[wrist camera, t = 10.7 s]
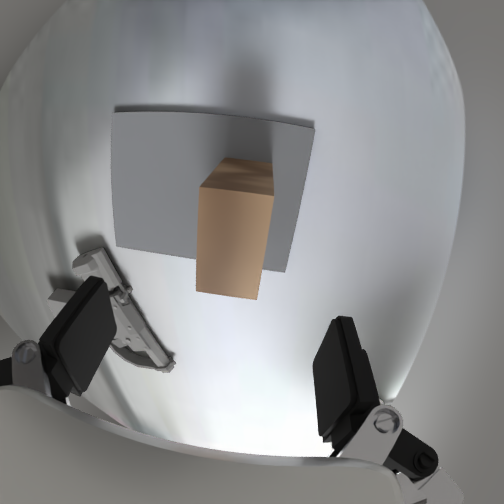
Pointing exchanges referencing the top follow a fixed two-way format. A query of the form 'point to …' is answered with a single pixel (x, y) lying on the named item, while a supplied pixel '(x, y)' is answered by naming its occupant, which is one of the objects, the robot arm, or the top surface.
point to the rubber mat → (198, 176)
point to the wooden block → (233, 227)
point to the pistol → (117, 313)
